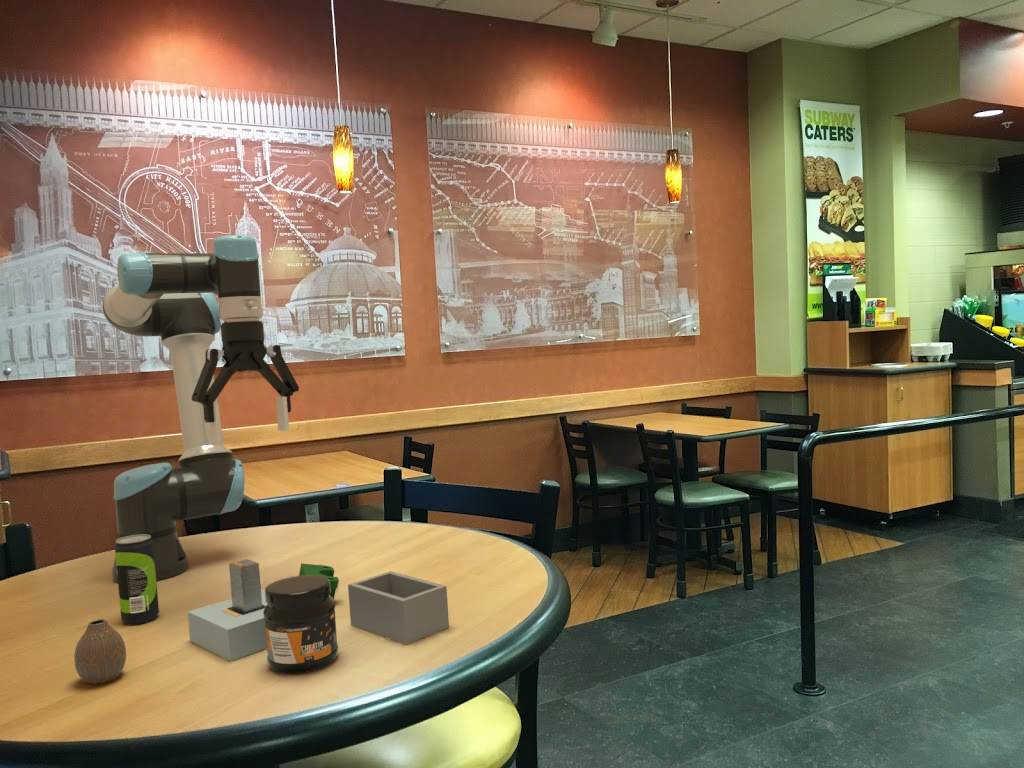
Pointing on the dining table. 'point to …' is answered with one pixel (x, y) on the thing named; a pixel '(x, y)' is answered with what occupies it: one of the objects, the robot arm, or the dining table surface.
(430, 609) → the gray hollow rectangular box
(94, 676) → the vase
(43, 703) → the dining table surface
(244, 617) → the plate
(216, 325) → the robot arm
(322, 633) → the supplement container
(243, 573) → the brushed metal block
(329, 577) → the green mounting bracket
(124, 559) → the beverage can
